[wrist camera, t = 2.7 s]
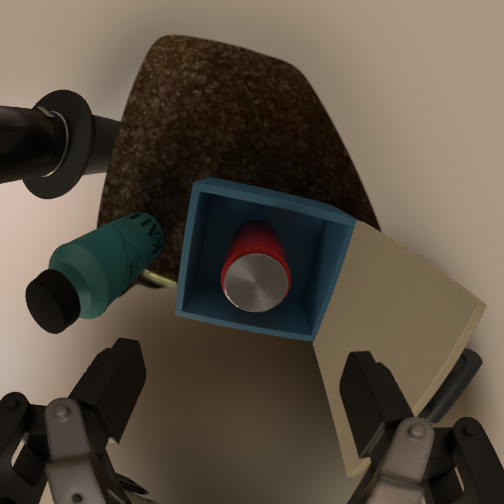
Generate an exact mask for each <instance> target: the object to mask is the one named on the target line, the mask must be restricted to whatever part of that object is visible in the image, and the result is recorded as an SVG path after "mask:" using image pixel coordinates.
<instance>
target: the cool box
mask: <svg viewBox="0 0 504 504" xmlns="http://www.w3.org/2000/svg"><path fill="white" fill-rule="evenodd" d="M356 220H357V219H356V218H354V217H352V216H350V215H349V214H347V213H345V212H343V211H342V210H340V209H338V208H336V207H334V206H333V205H330V204H326V203H322V202H318V201H315V200H311V199H307V198H303V197H299V196H295V195H291V194H287V193H283V192H278V191H274V190H270V189H265V188H261V187H256V186H252V185H247V184H242V183H238V182H233V181H228V180H223V179H218V178H212V177H210V178H206V179H202V180H199V181H195V182H193V187H192V193H191V198H190V204H189V210H188V216H187V222H186V229H185V235H184V242H183V249H182V256H181V264H180V272H179V280H178V288H177V298H176V308H175V315H177V316H181V317H185V318H189V319H194V320H198V321H203V322H207V323H211V324H216V325H221V326H225V327H231V328H235V329H241V330H246V331H251V332H257V333H262V334H268V335H274V336H280V337H286V338H293V339H299V340H307V341H314V340H315V338H316V335H317V333H318V330H319V328H320V325H321V323H322V320H323V318H324V315H325V313H326V310H327V307H328V305H329V302H330V299H331V297H332V294H333V291H334V288H335V285H336V283H337V280H338V277H339V274H340V271H341V268H342V265H343V262H344V259H345V256H346V253H347V250H348V246H349V243H350V240H351V237H352V233H353V230H354V227H355V223H356ZM250 221H262V222H265V223H268V224H269V225H271V226H272V227H273V228H274V229H275V230H276V232H277V233H278V235H279V238H280V241H281V244H282V248H283V251H284V254H285V257H286V260H287V264H288V267H289V270H290V274H291V284H290V288H289V291H288V293H287V295H286V296H285V298H284V299H283V300H282V301H281V302H280V303H279V304H278V305H276V306H275V307H273V308H271V309H269V310H266V311H262V312H249V311H245V310H243V309H241V308H239V307H237V306H236V305H234V304H233V303H232V302H231V301H230V300H229V299H228V298H227V297H226V295H225V293H224V291H223V289H222V285H221V273H222V270H223V266H224V263H225V260H226V257H227V254H228V250H229V247H230V244H231V241H232V238H233V235H234V233H235V231H236V230H237V229H238V228H239V227H240V226H241V225H243V224H244V223H247V222H250Z"/></svg>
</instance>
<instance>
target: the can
mask: <svg viewBox="0 0 504 504" xmlns="http://www.w3.org/2000/svg"><path fill="white" fill-rule="evenodd" d="M290 284H291V274H290V270H289V267H288V264H287V260H286V257H285V254H284V251H283V248H282V244H281V241H280V238H279V235H278V233H277V232H276V230H275V229H274V228H273V227H272V226H271V225H269V224H268V223H265V222H262V221H250V222H247V223H244V224H243V225H241V226H240V227H239V228H238V229H237V230H236V231H235V233H234V235H233V238H232V241H231V244H230V247H229V250H228V254H227V257H226V260H225V263H224V266H223V270H222V273H221V285H222V289H223V291H224V293H225V295H226V297H227V298H228V299H229V300H230V301H231V302H232V303H233V304H234V305H236V306H237V307H239V308H241V309H243V310H245V311H249V312H262V311H266V310H269V309H271V308H273V307H275V306H276V305H278V304H279V303H280V302H281V301H282V300H283V299H284V298H285V296H286V295H287V293H288V291H289V288H290Z"/></svg>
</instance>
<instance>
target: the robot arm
mask: <svg viewBox="0 0 504 504" xmlns="http://www.w3.org/2000/svg"><path fill="white" fill-rule="evenodd" d="M37 107H38V108H39V109H40V110H36V109H28V108H20V107H9V106H0V184H2V183H7V182H12V181H17V180H23V179H28V178H35V177H46V176H51V175H53V174H55V173H56V172H57V171H58V170H59V169H60V168H61V167H62V165H63V164H64V162H65V160H66V158H67V156H68V153H69V150H70V145H71V128H70V125H69V122H68V120H67V118H66V117H65V116H64V115H63V114H61V113H59V112H54V111H47V110H46V109H44V108H43V107H39V106H37ZM145 380H146V368H145V364H144V360H143V356H142V352H141V347H140V344H139V342H138V341H137V340H131V339H125V338H119V339H118V340H117V341H116V343H115V344H114V345H113V347H112V348H106V349H105V350H103V351H102V352H101V353H99V354H97V356H96V357H95V359H94V360H93V362H92V363H91V365H90V366H89V367H88V369H87V371H86V372H85V373H84V374H83V376H82V377H81V379H80V380H79V381H78V383H77V384H76V386H75V387H74V389H73V390H72V392H71V394H70V395H69V396H68V398H58V399H55V400H53V401H51V402H50V403H49V404H48V405H47V406H42V405H34V404H30V403H29V402H28V400H27V398H26V397H25V396H24V395H23V394H22V393H19V392H11V393H8V394H6V395H5V396H4V397H3V398H2V399H1V400H0V504H39V502H40V499H41V496H42V494H43V491H44V489H45V486H46V483H47V481H48V482H49V487H50V490H51V494H52V497H53V501H54V504H132V503H131V501H130V500H129V498H128V497H127V495H126V494H125V492H124V491H123V489H122V487H121V485H120V482H119V480H118V478H117V476H116V473H115V471H114V469H113V466H112V464H111V461H110V459H109V456H108V453H107V451H106V449H105V447H106V445H107V443H108V442H110V443H113V444H117V445H118V444H119V442H120V439H121V437H122V434H123V432H124V430H125V427H126V425H127V422H128V420H129V418H130V415H131V413H132V411H133V409H134V406H135V404H136V402H137V400H138V397H139V395H140V393H141V391H142V388H143V386H144V384H145ZM339 392H340V396H341V399H342V403H343V406H344V409H345V412H346V416H347V419H348V422H349V425H350V429H351V432H352V436H353V439H354V443H355V446H356V450H357V453H358V457H359V459H362V458H367V457H370V460H371V463H370V465H369V466H368V468H367V470H366V472H365V474H364V476H363V478H362V480H361V481H360V483H359V485H358V486H357V488H356V490H355V491H354V493H353V495H352V497H351V498H350V500H349V501H348V503H347V504H421V502H422V499H423V496H424V497H425V501H426V504H504V469H503V467H502V465H501V463H500V460H499V458H498V456H497V454H496V452H495V450H494V448H493V446H492V444H491V442H490V440H489V438H488V436H487V435H486V433H485V431H484V429H483V427H482V425H481V424H480V423H479V422H478V421H477V420H476V419H474V418H471V417H463V418H461V419H459V420H458V421H457V422H456V423H455V424H454V425H453V427H446V428H433V427H432V426H431V424H430V423H429V422H428V421H426V420H425V419H423V418H419V417H415V416H414V414H413V412H412V410H411V408H410V406H409V404H408V403H407V401H406V399H405V397H404V395H403V393H402V391H401V389H399V386H398V384H397V382H396V381H395V378H394V376H393V375H392V373H391V371H390V370H389V369H388V368H387V367H386V366H385V365H384V364H382V363H381V362H377V363H376V361H375V360H374V358H373V356H372V354H371V352H370V351H354V352H350V353H349V354H348V357H347V360H346V363H345V366H344V370H343V373H342V376H341V379H340V383H339ZM21 440H22V441H23V442H24V446H23V448H22V450H21V451H20V453H19V456H18V457H17V459H16V462H15V464H14V466H13V467H12V465H11V459H12V457H13V455H14V453H15V451H16V449H17V447H18V445H19V443H20V442H21ZM455 467H457V469H458V471H459V474H460V477H461V479H462V482H463V485H464V491H462V488H461V485H460V482H459V480H458V477H457V475H456V472H455V469H454V468H455Z"/></svg>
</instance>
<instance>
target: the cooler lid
mask: <svg viewBox="0 0 504 504" xmlns="http://www.w3.org/2000/svg"><path fill="white" fill-rule="evenodd" d="M485 308H486V304H485V303H483V302H482V301H481V300H480V299H478V298H477V297H476V296H475V295H473V294H472V293H471V292H469V291H468V290H467V289H465V288H464V287H462V286H461V285H459V284H458V283H457V282H455V281H454V280H453V279H451V278H450V277H449V276H447V275H446V274H444V273H443V272H442V271H440V270H439V269H437V268H436V267H434V266H433V265H431V264H430V263H428V262H427V261H425V260H424V259H422V258H421V257H419V256H418V255H416V254H415V253H413V252H412V251H410V250H409V249H407V248H406V247H404V246H402V245H401V244H399V243H398V242H395V241H394V240H393V239H391V238H390V237H388V236H386V235H385V234H383V233H381V232H380V231H378V230H376V229H375V228H373V227H371V226H370V225H368V224H366V223H364V222H362V221H358V220H356V223H355V227H354V230H353V233H352V237H351V240H350V243H349V246H348V250H347V253H346V256H345V259H344V262H343V265H342V268H341V271H340V274H339V277H338V280H337V283H336V285H335V288H334V291H333V294H332V297H331V299H330V302H329V305H328V307H327V310H326V313H325V315H324V318H323V320H322V323H321V325H320V328H319V330H318V333H317V335H316V338H315V340H314V343H313V346H314V349H315V353H316V357H317V360H318V364H319V367H320V371H321V374H322V378H323V382H324V385H325V389H326V393H327V397H328V400H329V404H330V407H331V412H332V415H333V419H334V423H335V427H336V431H337V435H338V439H339V443H340V447H341V451H342V456H343V460H344V464H345V468H346V473H347V477H354V476H358V475H359V474H361V473H362V472H363V471H364V470H365V469H366V468H368V466H369V465H370V463H371V460H370V457H367V458H362V459H359V457H358V453H357V450H356V446H355V443H354V439H353V436H352V432H351V429H350V425H349V422H348V419H347V416H346V412H345V409H344V406H343V403H342V399H341V396H340V392H339V383H340V379H341V376H342V373H343V370H344V366H345V363H346V360H347V357H348V354H349V353H350V352H354V351H370V352H371V354H372V356H373V358H374V360H375V361H376V363H377V362H381V363H382V364H384V365H385V366H386V367H387V368H388V369H389V370H390V371H391V373H392V375H393V376H394V378H395V381H396V382H397V384H398V386H399V389H401V391H402V393H403V395H404V397H405V399H406V401H407V403H408V404H409V406H410V408H411V410H412V412H413V414H414V416H415V417H419V418H425V419H426V420H427V421H429V422H431V423H437V422H439V421H440V420H441V419H442V418H443V416H444V415H445V414H446V413H447V412H448V411H449V409H450V408H451V407H452V406H453V404H454V403H455V402H456V400H457V399H458V398H459V396H460V395H461V394H462V393H463V391H464V390H465V388H466V387H467V386H468V384H469V383H470V381H471V380H472V379H473V377H474V376H475V374H476V373H477V371H478V370H479V368H480V366H481V365H482V359H481V357H480V356H479V355H478V354H477V353H476V352H474V351H472V350H470V349H466V348H465V346H466V345H467V343H468V341H469V340H470V338H471V336H472V334H473V332H474V330H475V328H476V326H477V324H478V322H479V320H480V318H481V316H482V314H483V312H484V310H485Z"/></svg>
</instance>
